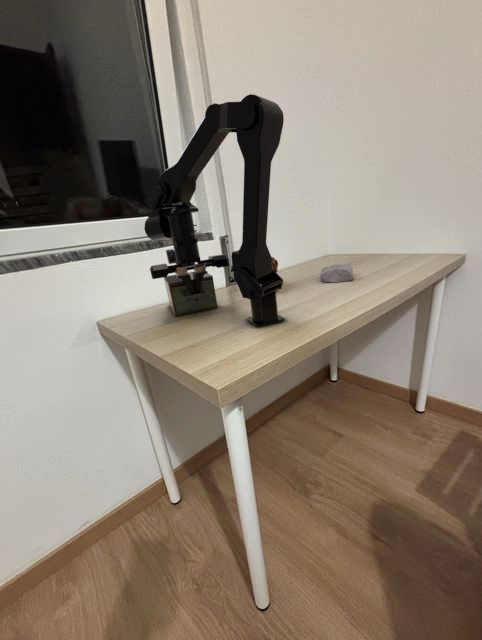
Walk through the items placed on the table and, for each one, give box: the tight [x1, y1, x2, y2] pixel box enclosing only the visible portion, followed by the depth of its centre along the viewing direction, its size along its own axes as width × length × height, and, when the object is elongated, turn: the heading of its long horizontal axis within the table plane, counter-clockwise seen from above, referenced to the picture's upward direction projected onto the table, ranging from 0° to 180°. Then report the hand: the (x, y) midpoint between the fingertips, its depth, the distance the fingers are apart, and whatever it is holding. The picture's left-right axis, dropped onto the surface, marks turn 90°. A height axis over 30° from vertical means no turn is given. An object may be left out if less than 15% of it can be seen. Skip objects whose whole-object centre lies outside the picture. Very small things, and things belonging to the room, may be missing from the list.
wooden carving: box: [271, 256, 279, 273], centre depth 97 cm, size 16×5×10 cm, turn 0°
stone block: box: [319, 263, 354, 283], centre depth 99 cm, size 12×5×10 cm
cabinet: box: [163, 271, 219, 317], centre depth 86 cm, size 14×12×9 cm
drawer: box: [172, 280, 216, 313], centre depth 83 cm, size 17×10×7 cm, turn 19°
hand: (196, 301), depth 78 cm, fingers closed, pressing on drawer
